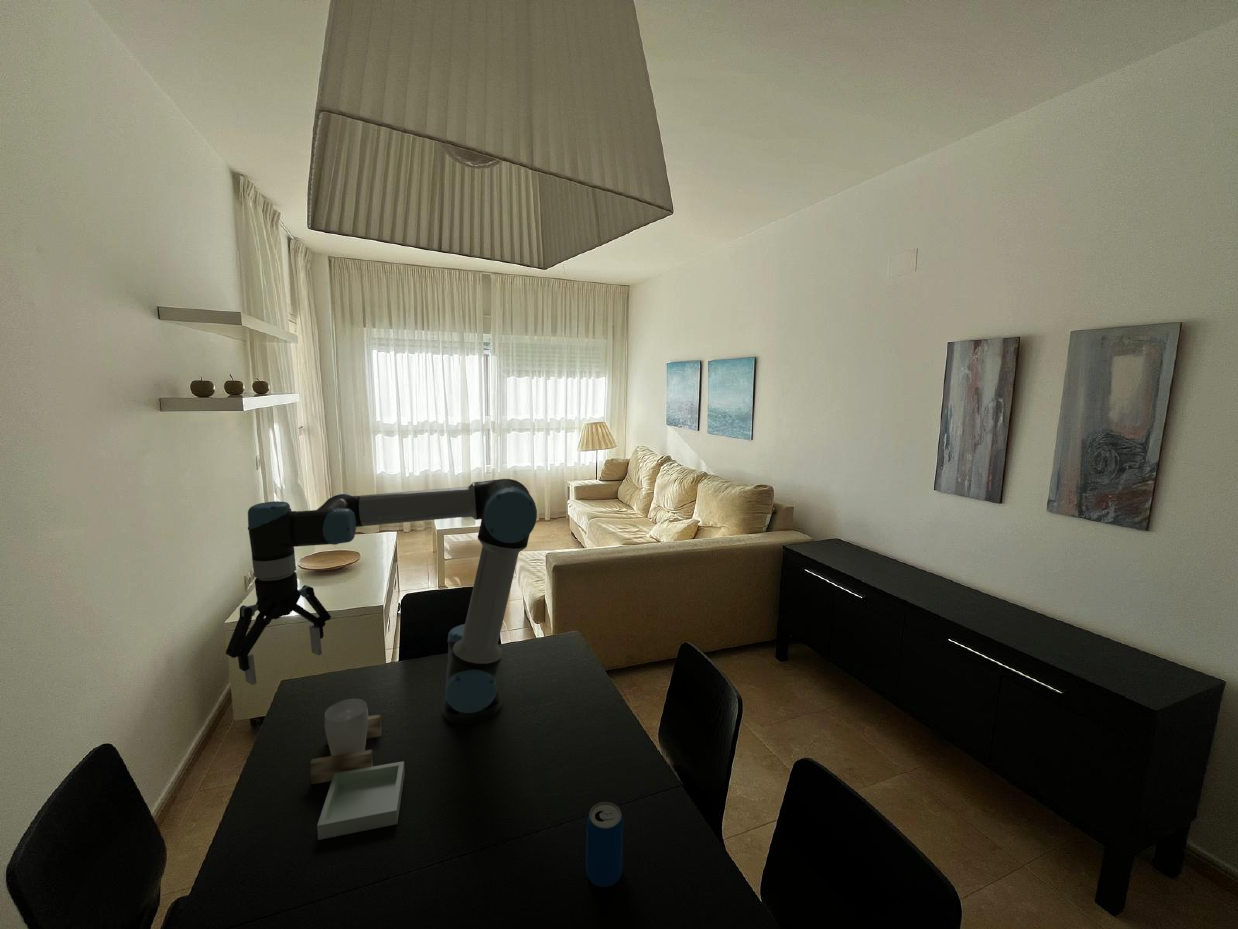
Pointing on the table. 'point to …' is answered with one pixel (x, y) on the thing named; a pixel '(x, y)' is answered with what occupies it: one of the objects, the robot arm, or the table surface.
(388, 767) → the tray
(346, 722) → the cup
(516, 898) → the table surface
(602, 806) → the beverage can
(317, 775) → the rest
